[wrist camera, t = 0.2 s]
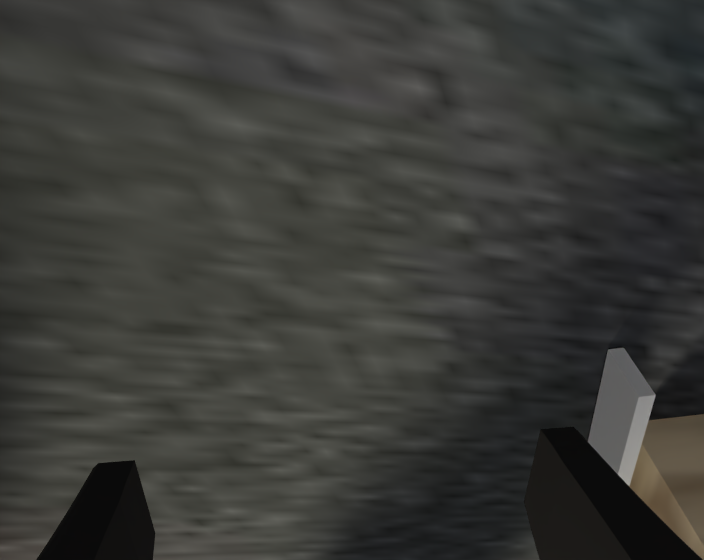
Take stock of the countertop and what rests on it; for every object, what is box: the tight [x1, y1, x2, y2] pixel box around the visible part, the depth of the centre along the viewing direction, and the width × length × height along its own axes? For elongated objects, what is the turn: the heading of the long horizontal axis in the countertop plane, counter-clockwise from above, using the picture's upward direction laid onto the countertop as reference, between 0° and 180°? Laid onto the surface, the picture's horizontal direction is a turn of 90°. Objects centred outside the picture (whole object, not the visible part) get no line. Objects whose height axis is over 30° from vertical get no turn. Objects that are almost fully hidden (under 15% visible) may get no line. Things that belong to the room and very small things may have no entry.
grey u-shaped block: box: [588, 348, 656, 486], centre depth 27 cm, size 13×8×2 cm, turn 3°
